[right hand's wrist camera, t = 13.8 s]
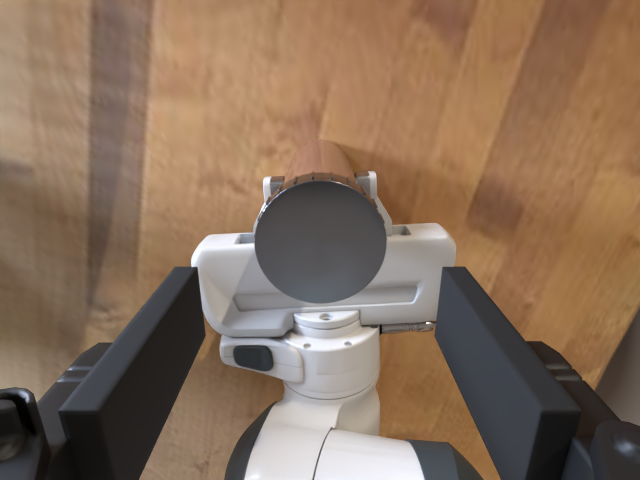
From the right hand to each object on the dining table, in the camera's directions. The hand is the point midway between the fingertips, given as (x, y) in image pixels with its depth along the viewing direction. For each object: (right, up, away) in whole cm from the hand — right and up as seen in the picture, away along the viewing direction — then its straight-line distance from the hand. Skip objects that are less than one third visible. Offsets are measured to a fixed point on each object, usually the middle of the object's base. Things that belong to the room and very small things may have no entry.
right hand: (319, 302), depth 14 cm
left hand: (0, +7, +16) cm, 17 cm away
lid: (0, +2, +5) cm, 6 cm away
